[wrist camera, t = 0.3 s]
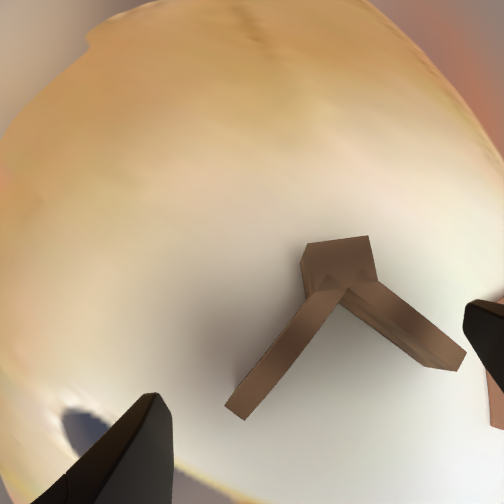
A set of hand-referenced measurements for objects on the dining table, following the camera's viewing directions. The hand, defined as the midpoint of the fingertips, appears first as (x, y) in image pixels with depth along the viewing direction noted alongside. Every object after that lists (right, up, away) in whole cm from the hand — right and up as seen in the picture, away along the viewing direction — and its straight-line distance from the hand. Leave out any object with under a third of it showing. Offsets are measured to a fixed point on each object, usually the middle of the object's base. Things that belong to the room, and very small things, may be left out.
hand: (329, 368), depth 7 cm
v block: (+4, -2, +14) cm, 15 cm away
